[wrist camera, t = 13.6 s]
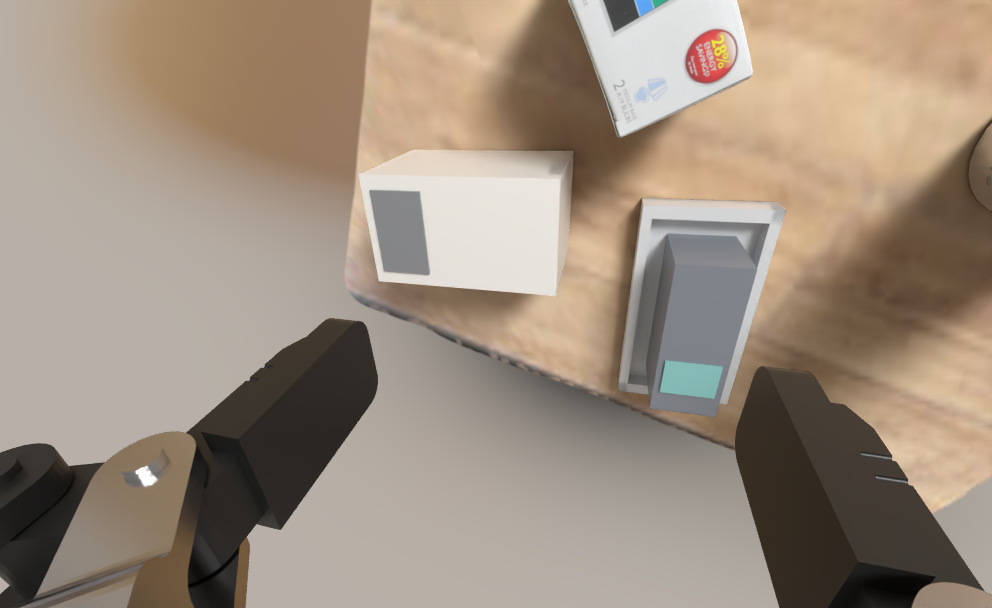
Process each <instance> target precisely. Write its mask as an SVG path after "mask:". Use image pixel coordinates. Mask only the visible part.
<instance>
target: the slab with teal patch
mask: <svg viewBox="0 0 992 608" xmlns="http://www.w3.org/2000/svg"><path fill="white" fill-rule="evenodd" d="M756 273H757V267H756V266H755V264H754V263H753V261H752V260H751V258H750V256H749V255H748V253H747V252H746V250H745V249H744V247H743V246H742V244H741V242H740V241H739V239H738V238H737V236H719V235H696V234H673V233H667V238H666V244H665V250H664V256H663V262H662V268H661V275H660V281H659V287H658V293H657V299H656V305H655V311H654V318H653V324H652V330H651V336H650V342H649V348H648V354H647V361H646V372H647V384H648V395H649V407H650V409H658V410H665V411H673V412H680V413H688V414H695V415H703V416H710V417H716V414H717V410H718V407H719V403H720V400H721V396H722V393H723V389H724V386H725V382H726V378H727V375H728V371H729V368H730V364H731V361H732V357H733V354H734V350H735V347H736V343H737V340H738V336H739V333H740V329H741V326H742V322H743V319H744V315H745V312H746V308H747V304H748V301H749V297H750V294H751V290H752V287H753V283H754V280H755V276H756Z"/></svg>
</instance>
